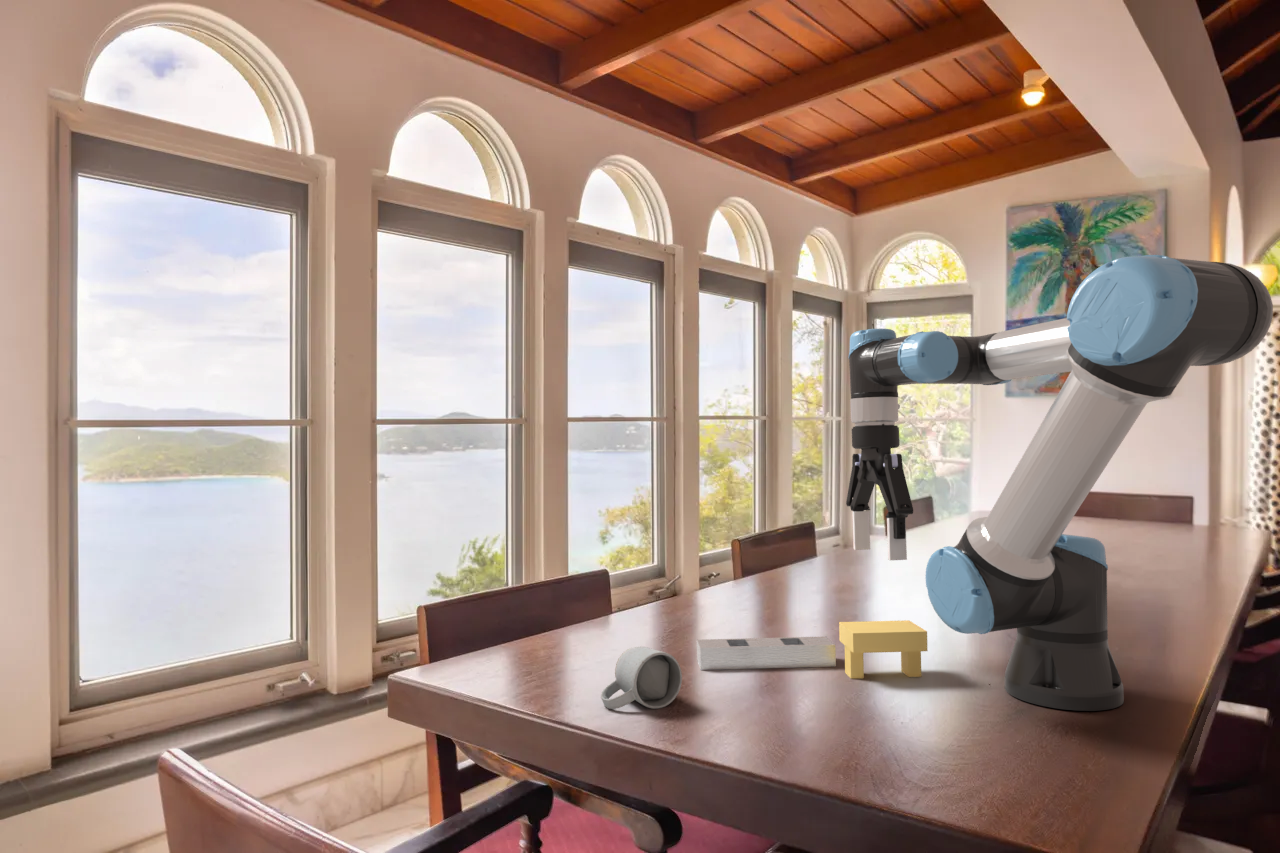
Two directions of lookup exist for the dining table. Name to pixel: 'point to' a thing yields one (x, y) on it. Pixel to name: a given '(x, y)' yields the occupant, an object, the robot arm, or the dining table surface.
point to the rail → (765, 653)
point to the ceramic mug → (644, 679)
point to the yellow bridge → (882, 644)
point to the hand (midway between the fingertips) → (878, 554)
